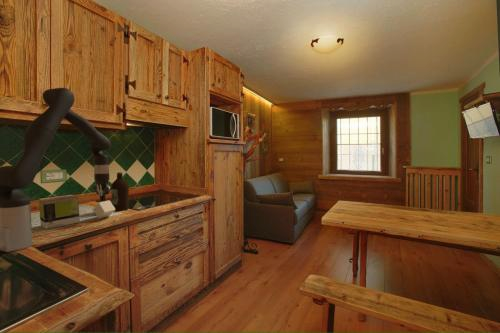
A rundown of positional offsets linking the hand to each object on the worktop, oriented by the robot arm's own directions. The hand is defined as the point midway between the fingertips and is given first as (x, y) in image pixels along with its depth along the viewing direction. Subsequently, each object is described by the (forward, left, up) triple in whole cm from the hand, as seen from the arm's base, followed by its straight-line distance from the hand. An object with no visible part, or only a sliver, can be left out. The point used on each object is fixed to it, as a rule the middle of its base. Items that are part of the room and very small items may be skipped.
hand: (102, 201), depth 142 cm
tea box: (-18, +9, -10) cm, 22 cm away
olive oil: (+18, +8, -10) cm, 22 cm away
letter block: (0, +2, -7) cm, 7 cm away
